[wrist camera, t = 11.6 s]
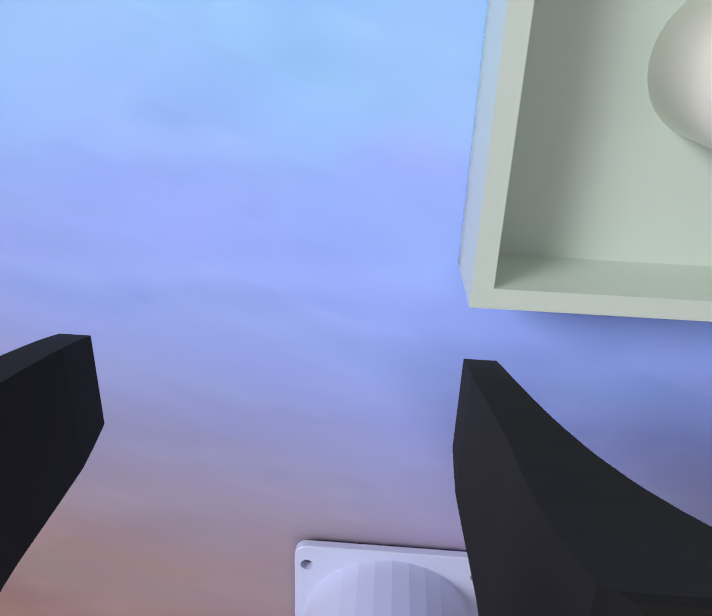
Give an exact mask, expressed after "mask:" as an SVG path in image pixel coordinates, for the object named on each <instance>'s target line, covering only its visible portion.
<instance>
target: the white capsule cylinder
mask: <svg viewBox="0 0 712 616" xmlns="http://www.w3.org/2000/svg"><path fill="white" fill-rule="evenodd" d="M647 82H648V92H649V97H650V100H651V103H652V106H653V108H654V110H655V112H656V114H657V115H658V117H659V118H660V119H661V121H662V122H663V123H664V124H665V125H666V126H667V127H668V128H669V129H671V130H672V131H673V132H675V133H677V134H678V135H680V136H682V137H685V138H687V139H689V140H692V141H694V142H697V143H699V144H701V145H704V146H706V147H709V148H711V149H712V0H688V1H687V2H685V3H684V4H683V5H682V6H681V7H680V8H679V9H678V10H677V11H676V12H675V13H674V14H673V15H672V17H671V18H670V19H669V20H668V22H667V23H666V24H665V26H664V28H663V29H662V31H661V32H660V34H659V36H658V38H657V40H656V42H655V44H654V47H653V50H652V53H651V56H650V61H649V65H648V74H647Z"/></svg>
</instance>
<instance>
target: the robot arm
mask: <svg viewBox="0 0 712 616" xmlns="http://www.w3.org/2000/svg"><path fill="white" fill-rule="evenodd" d="M103 426H104V418H103V412H102V405H101V399H100V393H99V386H98V380H97V374H96V367H95V361H94V355H93V348H92V342H91V336H88V335H72V334H57V335H54V336H50V337H47V338H44V339H41V340H38V341H36V342H33V343H31V344H28V345H25V346H23V347H21V348H18V349H16V350H13V351H11V352H8V353H6V354H4V355H1V356H0V592H1V590H2V588H3V586H4V584H5V583H6V581H7V580H8V578H9V577H10V575H11V573H12V572H13V570H14V569H15V567H16V565H17V564H18V562H19V561H20V559H21V558H22V556H23V555H24V554H25V552H26V551H27V549H28V548H29V546H30V545H31V543H32V542H33V541H34V539H35V538H36V536H37V535H38V533H39V532H40V530H41V529H42V527H43V526H44V525H45V523H46V522H47V520H48V519H49V517H50V516H51V514H52V513H53V512H54V510H55V509H56V507H57V506H58V504H59V503H60V501H61V500H62V499H63V497H64V496H65V494H66V493H67V491H68V490H69V488H70V487H71V485H72V484H73V482H74V481H75V479H76V478H77V476H78V475H79V473H80V472H81V470H82V469H83V467H84V465H85V463H86V461H87V459H88V457H89V455H90V453H91V451H92V449H93V448H94V445H95V443H96V441H97V439H98V437H99V434H100V432H101V430H102V428H103ZM453 463H454V479H455V493H456V499H457V504H458V509H459V515H460V520H461V525H462V530H463V535H464V540H465V546H466V551H467V552H461V551H447V550H434V549H420V548H407V547H394V546H380V545H367V544H353V543H340V542H326V541H313V540H303V541H301V542H299V543H298V544H297V547H296V551H295V616H712V527H711V526H709V525H707V524H705V523H703V522H702V521H700V520H698V519H696V518H694V517H692V516H690V515H688V514H686V513H685V512H683V511H681V510H679V509H678V508H676V507H674V506H673V505H671V504H669V503H668V502H666V501H664V500H663V499H661V498H659V497H657V496H656V495H654V494H652V493H651V492H649V491H647V490H646V489H644V488H643V487H641V486H640V485H638V484H636V483H635V482H633V481H632V480H630V479H629V478H627V477H626V476H625V475H623V474H622V473H620V472H619V471H618V470H616V469H615V468H613V467H612V466H611V465H609V464H608V463H606V462H605V461H603V460H602V459H601V458H599V457H598V456H597V455H596V454H594V453H593V452H592V451H590V450H589V449H588V448H587V447H585V446H584V445H583V444H582V443H581V442H579V441H578V440H577V439H576V438H575V437H574V436H572V435H571V434H570V433H569V432H568V431H566V430H565V429H564V428H563V427H562V426H561V425H560V424H559V423H558V422H556V421H555V420H554V419H553V418H552V417H551V416H550V415H549V414H548V413H547V412H546V411H545V410H544V409H543V408H542V407H541V406H540V405H539V404H538V403H537V402H536V401H535V400H534V399H533V398H532V397H531V396H530V395H529V394H528V393H527V392H526V391H525V390H524V389H523V388H522V387H521V386H520V385H519V384H518V383H517V382H516V381H515V380H514V379H513V378H512V377H511V376H510V374H509V373H508V372H507V371H506V370H505V369H504V368H503V367H502V366H501V365H500V364H499V363H498V362H497V361H489V360H473V359H464V361H463V369H462V377H461V385H460V393H459V401H458V409H457V417H456V425H455V433H454V441H453ZM304 560H309V561H311V562H307V561H304Z"/></svg>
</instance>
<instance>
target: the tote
mask: <svg viewBox="0 0 712 616" xmlns="http://www.w3.org/2000/svg"><path fill="white" fill-rule="evenodd" d="M687 1H688V0H488V6H487V15H486V24H485V33H484V42H483V51H482V59H481V68H480V77H479V86H478V95H477V104H476V112H475V121H474V130H473V139H472V148H471V157H470V165H469V174H468V183H467V192H466V201H465V210H464V218H463V227H462V236H461V245H460V254H459V263H458V264H459V268H460V272H461V276H462V280H463V284H464V288H465V292H466V296H467V300H468V304H469V307H472V308H489V309H506V310H523V311H540V312H557V313H574V314H591V315H608V316H625V317H641V318H658V319H675V320H692V321H709V322H712V149H711V148H709V147H706V146H704V145H701V144H699V143H697V142H694V141H692V140H689V139H687V138H685V137H682V136H680V135H678V134H677V133H675V132H673V131H672V130H671V129H669V128H668V127H667V126H666V125H665V124H664V123H663V122H662V121H661V119H660V118H659V117H658V115H657V114H656V112H655V110H654V108H653V106H652V103H651V100H650V97H649V92H648V82H647V74H648V65H649V61H650V56H651V53H652V50H653V47H654V44H655V42H656V40H657V38H658V36H659V34H660V32H661V31H662V29H663V28H664V26H665V24H666V23H667V22H668V20H669V19H670V18H671V17H672V15H673V14H674V13H675V12H676V11H677V10H678V9H679V8H680V7H681V6H682V5H683V4H684V3H685V2H687Z"/></svg>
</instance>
